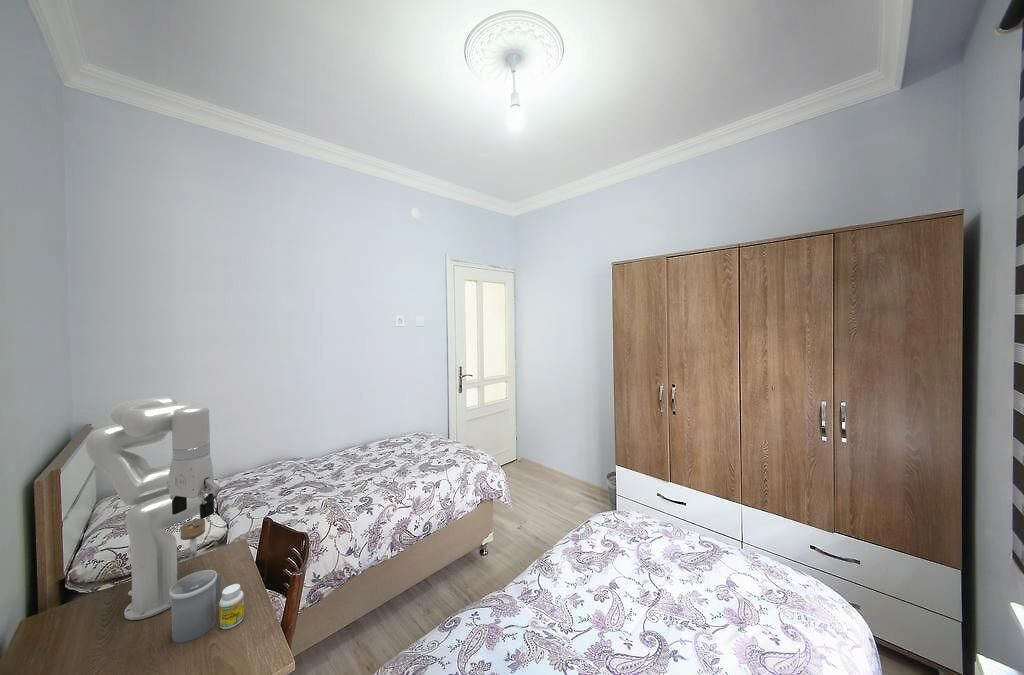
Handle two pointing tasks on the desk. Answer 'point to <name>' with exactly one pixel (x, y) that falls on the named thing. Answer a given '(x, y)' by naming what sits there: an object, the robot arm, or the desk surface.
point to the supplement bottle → (231, 606)
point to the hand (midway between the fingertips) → (193, 514)
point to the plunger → (192, 533)
